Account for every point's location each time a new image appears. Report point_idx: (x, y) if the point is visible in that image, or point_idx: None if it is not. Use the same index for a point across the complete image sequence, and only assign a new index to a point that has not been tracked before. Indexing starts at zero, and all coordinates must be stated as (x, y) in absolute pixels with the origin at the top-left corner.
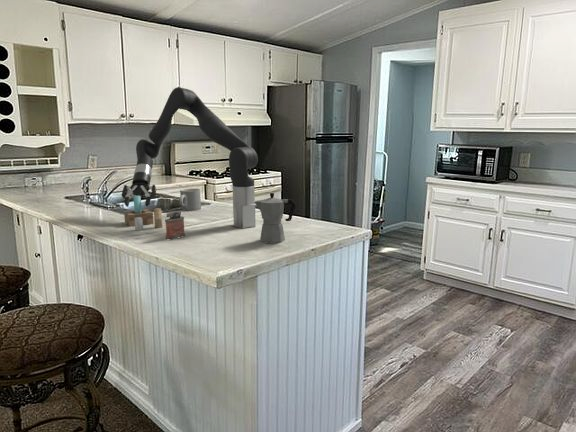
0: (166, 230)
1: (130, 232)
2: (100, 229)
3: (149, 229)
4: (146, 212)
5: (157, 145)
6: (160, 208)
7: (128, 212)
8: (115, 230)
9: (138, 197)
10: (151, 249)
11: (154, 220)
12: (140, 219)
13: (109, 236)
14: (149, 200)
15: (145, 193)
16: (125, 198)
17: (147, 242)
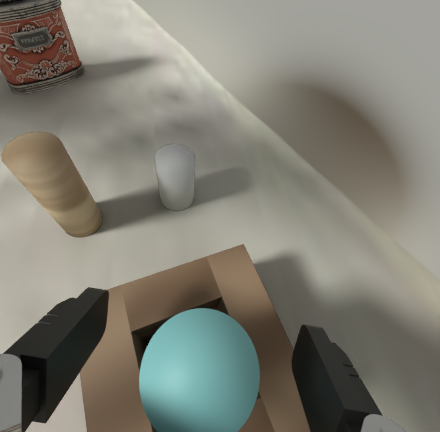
0: (71, 38)
1: (209, 167)
2: (356, 246)
3: (131, 194)
4: (122, 322)
5: None
6: (4, 159)
7: (274, 358)
8: (281, 212)
9: (174, 318)
10: (135, 22)
11: (90, 197)
12: (163, 149)
13: (272, 137)
14: (31, 334)
15: (14, 428)
16: (378, 414)
17: (143, 61)
